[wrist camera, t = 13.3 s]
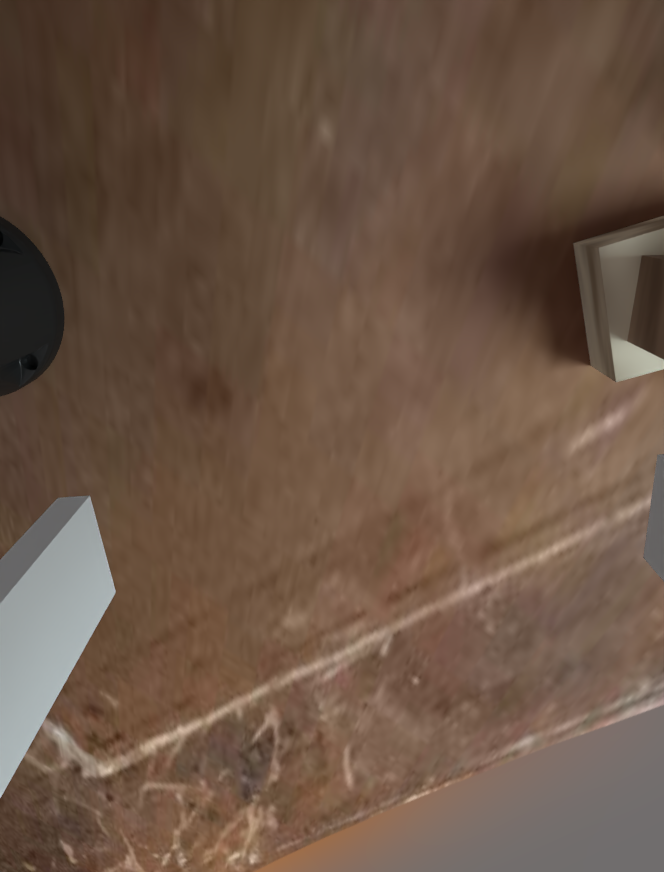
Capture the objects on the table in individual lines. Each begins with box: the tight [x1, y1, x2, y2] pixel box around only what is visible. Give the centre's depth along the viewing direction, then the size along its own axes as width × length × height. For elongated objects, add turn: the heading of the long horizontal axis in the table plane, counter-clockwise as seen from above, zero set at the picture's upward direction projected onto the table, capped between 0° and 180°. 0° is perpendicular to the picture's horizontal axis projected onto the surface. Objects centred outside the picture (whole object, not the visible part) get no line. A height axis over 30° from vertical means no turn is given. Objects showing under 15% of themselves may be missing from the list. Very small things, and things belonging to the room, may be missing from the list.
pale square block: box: [573, 216, 664, 382], centre depth 44 cm, size 10×10×5 cm
